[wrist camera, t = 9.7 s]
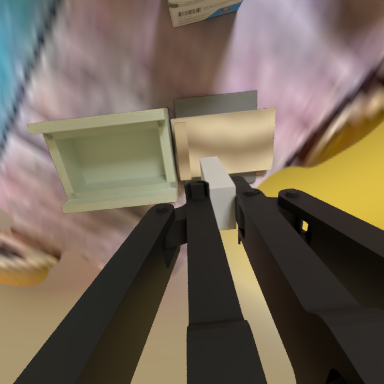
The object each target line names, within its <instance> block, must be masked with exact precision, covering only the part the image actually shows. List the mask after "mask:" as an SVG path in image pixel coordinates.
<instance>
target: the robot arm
mask: <svg viewBox="0 0 384 384" xmlns="http://www.w3.org/2000/svg"><path fill="white" fill-rule="evenodd" d="M199 159H200V170H201V180H198V181H191V182H189V183H187V184H185V194H186V204H185V205H183V206H181V207H179V208H175V209H174V206H173V205H172V204H168V203H160V204H157V205H155V206H153V207H152V208H150V209H149V211H148V212H147V213H146V214H145V216H144V217H143V218H142V220H141V221H140V222H139V223H138V225H137V226H136V227H135V229H134V230H133V231H132V232H131V234H130V235H129V236H128V237H127V239H126V240H125V241H124V243H123V244H122V245H121V246H120V248H119V249H118V250H117V252H116V253H115V254H114V255H113V257H112V258H111V259H110V260H109V262H108V263H107V264H106V266H105V267H104V268H103V269H102V271H101V272H100V273H99V275H98V276H97V277H96V278H95V280H94V281H93V282H92V284H91V285H90V286H89V287H88V289H87V290H86V291H85V292H84V294H83V295H82V296H81V298H80V299H79V300H78V302H77V303H76V304H75V305H74V307H73V308H72V309H71V310H70V312H69V313H68V314H67V316H66V317H65V318H64V319H63V321H62V322H61V323H60V325H59V326H58V327H57V329H56V330H55V331H54V332H53V333H52V335H51V336H50V337H49V339H48V340H47V341H46V342H45V344H44V345H43V346H42V348H41V349H40V350H39V351H38V353H37V354H36V355H35V356H34V358H33V359H32V360H31V362H30V363H29V364H28V365H27V367H26V368H25V369H24V370H23V372H22V373H21V374H20V376H19V377H18V378H17V380H16V381H15V382H14V383H13V384H130V383H131V380H132V378H133V375H134V372H135V370H136V367H137V364H138V361H139V359H140V356H141V354H142V351H143V348H144V345H145V343H146V340H147V337H148V335H149V332H150V329H151V327H152V324H153V321H154V319H155V316H156V313H157V311H158V308H159V305H160V302H161V300H162V297H163V295H164V292H165V289H166V286H167V284H168V281H169V279H170V276H171V273H172V270H173V268H174V265H175V262H176V260H177V257H178V254H179V252H180V245H182V244H185V243H187V256H188V300H189V301H188V302H189V326H188V327H187V384H267V381H266V378H265V374H264V371H263V368H262V364H261V361H260V357H259V354H258V351H257V347H256V344H255V340H254V337H253V334H252V331H251V328H250V325H249V323H248V321H247V320H244V318H243V315H242V312H241V308H240V304H239V301H238V297H237V294H236V290H235V286H234V282H233V279H232V275H231V272H230V268H229V265H228V261H227V257H226V253H225V250H224V246H223V243H222V239H221V235H220V232H219V231H220V230H229V229H236V222H237V224H238V244H240V241H242V243H243V246H244V249H245V251H246V253H247V256H248V258H249V261H250V264H251V266H252V268H253V271H254V273H255V276H256V278H257V281H258V283H259V285H260V288H261V290H262V293H263V296H264V298H265V300H266V303H267V305H268V308H269V310H270V313H271V315H272V318H273V320H274V323H275V325H276V328H277V330H278V333H279V335H280V338H281V340H282V342H283V345H284V347H285V349H286V352H287V355H288V357H289V359H290V362H291V365H292V367H293V370H294V374H295V378H296V384H384V230H381V229H379V228H377V227H375V226H373V225H371V224H369V223H367V222H365V221H363V220H361V219H359V218H357V217H355V216H352V215H350V214H348V213H346V212H344V211H342V210H340V209H338V208H336V207H334V206H332V205H330V204H328V203H326V202H324V201H321V200H319V199H317V198H315V197H313V196H311V195H309V194H307V193H305V192H303V191H300V190H296V189H285V190H281V191H280V192H279V193H278V197H266V196H265V195H264V194H263V192H262V191H260V190H258V189H255V188H251V186H250V185H249V184H248V182H247V181H246V180H245V179H244V178H243V177H241V176H232V177H230V176H229V175H228V173H227V171H226V170H225V168H224V166H223V165H222V163H221V162H220V160H219V158H218V157H217V156H215V157H206V158H199ZM303 220H304V221H305V222H307V223H308V229H307V231H305V230H303V229H302V226H303Z"/></svg>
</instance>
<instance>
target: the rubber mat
mask: <svg viewBox="0 0 384 384" xmlns="http://www.w3.org/2000/svg"><path fill="white" fill-rule="evenodd" d="M174 108H175V115H176V118H184V117H194V116H203V115H213V114H222V113H232V112H242V111H251V110H257V90H254V91H245V92H237V93H228V94H219V95H211V96H202V97H194V98H185V99H176V100H174ZM255 174H256V171H250V172H240V173H230V174H228V175H229V176H230V177H232V176H241V177H243V178H244V179H245V180H246V181H247V182H248V183H251V182H255ZM191 179H192V180H184V185H185V184H187V183H189V182H191V181H198V180H201V177H191Z"/></svg>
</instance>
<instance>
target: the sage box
mask: <svg viewBox="0 0 384 384" xmlns="http://www.w3.org/2000/svg"><path fill="white" fill-rule="evenodd" d="M27 126H28V129H29V131H30V133H31V135H32V134H40V133H43V136H44V139H45V141H46V144H47V146H48V149H49V151H50V154H51V157H52V159H53V162H54V164H55V167H56V169H57V172H58V175H59V177H60V180H61V182H62V185H63V187H64V190H65V193H66V195H67V198H68V201H67V202H65V203H64V204H63V205H61V209H62V211H63V213H64V214H67V213H76V212H85V211H94V210H103V209H113V208H122V207H131V206H140V205H149V204H158V203H167V202H177V197H178V186H179V183H178V176H177V169H176V162H175V155H174V148H173V141H172V134H171V127H170V120H169V113H168V108H160V109H152V110H143V111H134V112H126V113H117V114H109V115H100V116H91V117H83V118H74V119H65V120H57V121H48V122H39V123H31V124H27Z"/></svg>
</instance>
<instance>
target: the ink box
mask: <svg viewBox="0 0 384 384" xmlns="http://www.w3.org/2000/svg"><path fill="white" fill-rule="evenodd" d="M167 1H168V6H169V11H170V15H171V20H172V25H173V27H179V26H182V25H186V24H190V23H193V22H197V21H201V20H204V19H208V18H212V17H215V16H219V15H223V14H226V13H230V12H234V11H237V10H238V8H239V7H240V5H241V3H242V1H243V0H167Z"/></svg>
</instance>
